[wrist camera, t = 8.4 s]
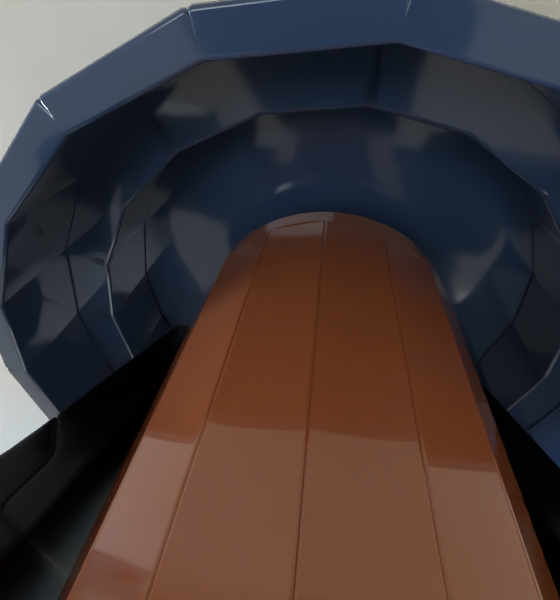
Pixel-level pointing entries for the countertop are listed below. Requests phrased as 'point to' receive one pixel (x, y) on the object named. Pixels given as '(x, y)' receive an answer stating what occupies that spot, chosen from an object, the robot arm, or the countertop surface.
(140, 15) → the countertop surface
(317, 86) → the bowl
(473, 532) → the cup
